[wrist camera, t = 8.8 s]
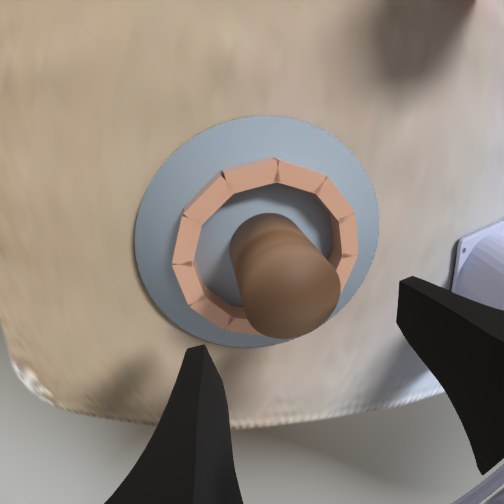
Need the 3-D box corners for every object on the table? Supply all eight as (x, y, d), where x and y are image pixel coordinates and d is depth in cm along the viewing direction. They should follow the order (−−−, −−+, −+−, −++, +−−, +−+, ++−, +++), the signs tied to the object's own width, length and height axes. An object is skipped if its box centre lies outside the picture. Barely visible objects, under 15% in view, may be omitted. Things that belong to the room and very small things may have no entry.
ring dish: (375, 303, 20) (387, 317, 19) (187, 362, 20) (187, 381, 18) (359, 98, 14) (377, 97, 12) (100, 162, 13) (88, 168, 12)
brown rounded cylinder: (306, 269, 17) (342, 321, 13) (239, 289, 17) (256, 349, 12) (296, 204, 15) (337, 242, 11) (220, 224, 15) (233, 272, 11)
